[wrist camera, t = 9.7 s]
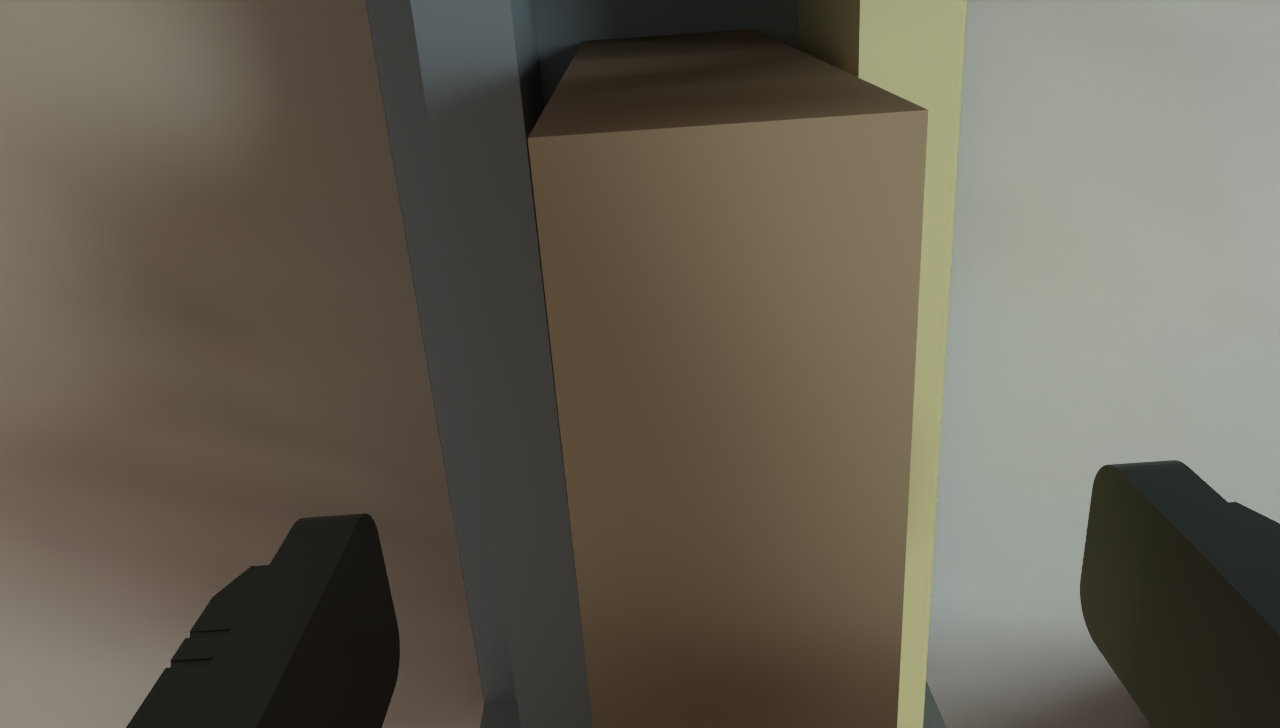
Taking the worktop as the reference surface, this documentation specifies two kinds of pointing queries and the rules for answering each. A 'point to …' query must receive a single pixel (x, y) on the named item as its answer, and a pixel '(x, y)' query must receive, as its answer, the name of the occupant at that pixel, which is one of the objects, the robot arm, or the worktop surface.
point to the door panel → (733, 375)
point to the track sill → (516, 306)
